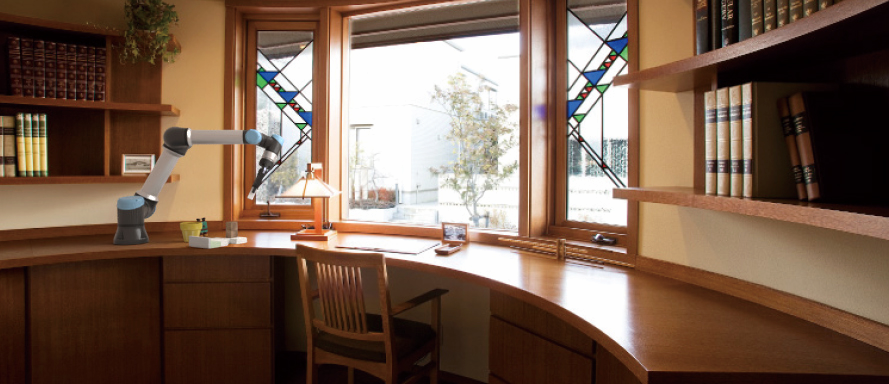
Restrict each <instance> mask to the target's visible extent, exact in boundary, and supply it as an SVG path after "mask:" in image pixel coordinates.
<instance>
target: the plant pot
mask: <svg viewBox="0 0 889 384" xmlns="http://www.w3.org/2000/svg"><path fill="white" fill-rule="evenodd" d="M179 228H180V229H179V230H181V233H182V237H183V242H185V243H189V236H197V237H199V235H200V231H201V229H202V221H200V222H197V221H184V222H180V223H179Z"/></svg>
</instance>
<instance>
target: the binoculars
mask: <svg viewBox="0 0 889 384" xmlns="http://www.w3.org/2000/svg"><path fill="white" fill-rule="evenodd" d="M196 222H202V229H201V231H200V235H199V237H208V236H209V234H208V232H209V230H208V223H207V221H206V217H201V218H196Z"/></svg>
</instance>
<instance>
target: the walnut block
mask: <svg viewBox="0 0 889 384" xmlns="http://www.w3.org/2000/svg"><path fill="white" fill-rule="evenodd" d="M238 224H239V223H238V221H226V222H225V238H236V237H239V236H238V234H239V233H238V230H239V229H238V228H239V227H238Z"/></svg>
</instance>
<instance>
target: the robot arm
mask: <svg viewBox="0 0 889 384" xmlns="http://www.w3.org/2000/svg"><path fill="white" fill-rule="evenodd" d="M162 139H163V144H162V146H161V147H162V152H161V154H160V155H159V157H158V159H157V161H156V163H155V164H154V166H153V168H152V169H151V171H150V173H149V175H148V176H147V178H146V179H145V182H144V183H143V185H142V187H141V189H138V190H136V191H135V193H134V194H133V195H127V196H122V197H119V198H118V199H117V200H116V212H117V213H116V217H117V218H116V219H117V220H116V222H117V229H116V231H115V234H114V237H113V244H114V245H117V246H118V245H123V246H125V245H139V244H146V243H149V242H150V238H149V237H150V236H148V235H149V234H148V233H147V229H146V228H145V220H147V219H149V218H151V217H152V216H153V215H154V214H155V212H156V210H157V205H158V203H159V201H160V200H159V195H160V193H161V191H162V189H163V188H164V186H165V184H166V183H167V181H168V179H169V178H170V176H171V173H172V172H173V170H174V168H175V167H176V165H177V163H178V161H179V160H180V158H183V157H185V156H186V154H187V152H188V150H190V149H191V148H192V147H193V146H195V145H197V146H198V145H254V146H257V147H260V148H262V149H264V151H263V153H262V155H261V158H260V159H259V161H258V165H259V167H260V168H259V169H258V170H257V171H258V172H257V174H256V177H255V179H254V182H253V184H252V185H251V188H250V191H249V193H248V195H247V199H248V200H250V201H253V199H254V197H255V195H256V193H257V191H259V187H260V186H261V184H262V182H263V179H264V178H265V176H266V174H267V173H268V170H269V171H270V170H272V169H273V167H274V165H275V162H276V161H277V160H278V158H277V157H278V156H279V154H280V152H281V150H282V148H283V146H284V143H285V138H283V137H282V136H281V135H280V134H276V133H273V134H271V135H267V134H264V133H262V132H261V131H259V130H257V129H254V128H253V129H252V128H250V129H245V130H244V129H192V128H191V127H180V126H171V127H168V128H167V129H165V131H164V132H163V135H162Z"/></svg>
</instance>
